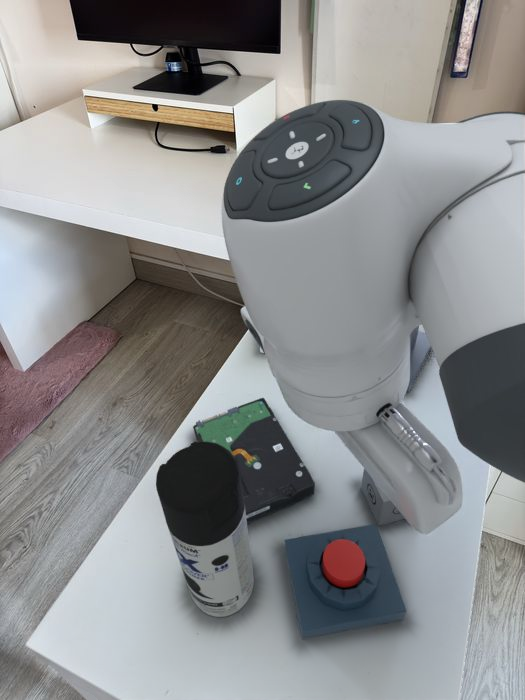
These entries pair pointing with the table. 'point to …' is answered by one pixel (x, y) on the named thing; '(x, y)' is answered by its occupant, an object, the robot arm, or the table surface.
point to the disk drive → (259, 457)
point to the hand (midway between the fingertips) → (357, 445)
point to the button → (343, 563)
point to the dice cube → (379, 501)
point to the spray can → (208, 525)
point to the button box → (336, 602)
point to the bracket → (417, 353)
